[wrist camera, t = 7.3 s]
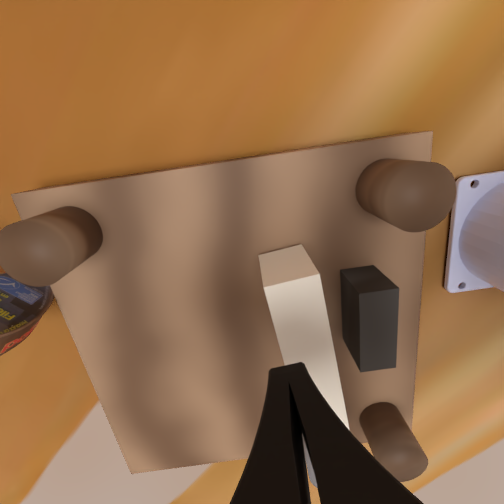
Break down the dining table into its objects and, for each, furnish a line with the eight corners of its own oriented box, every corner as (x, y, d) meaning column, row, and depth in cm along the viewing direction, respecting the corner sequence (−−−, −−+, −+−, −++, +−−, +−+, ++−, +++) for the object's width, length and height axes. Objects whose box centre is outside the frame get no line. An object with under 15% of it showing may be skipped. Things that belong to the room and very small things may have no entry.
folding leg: (344, 424, 21) (366, 484, 17) (301, 434, 21) (314, 495, 18) (307, 242, 16) (327, 271, 12) (252, 256, 16) (255, 289, 13)
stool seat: (406, 132, 17) (488, 126, 11) (395, 408, 25) (440, 486, 19) (41, 187, 17) (-54, 208, 12) (141, 443, 25) (112, 529, 19)
